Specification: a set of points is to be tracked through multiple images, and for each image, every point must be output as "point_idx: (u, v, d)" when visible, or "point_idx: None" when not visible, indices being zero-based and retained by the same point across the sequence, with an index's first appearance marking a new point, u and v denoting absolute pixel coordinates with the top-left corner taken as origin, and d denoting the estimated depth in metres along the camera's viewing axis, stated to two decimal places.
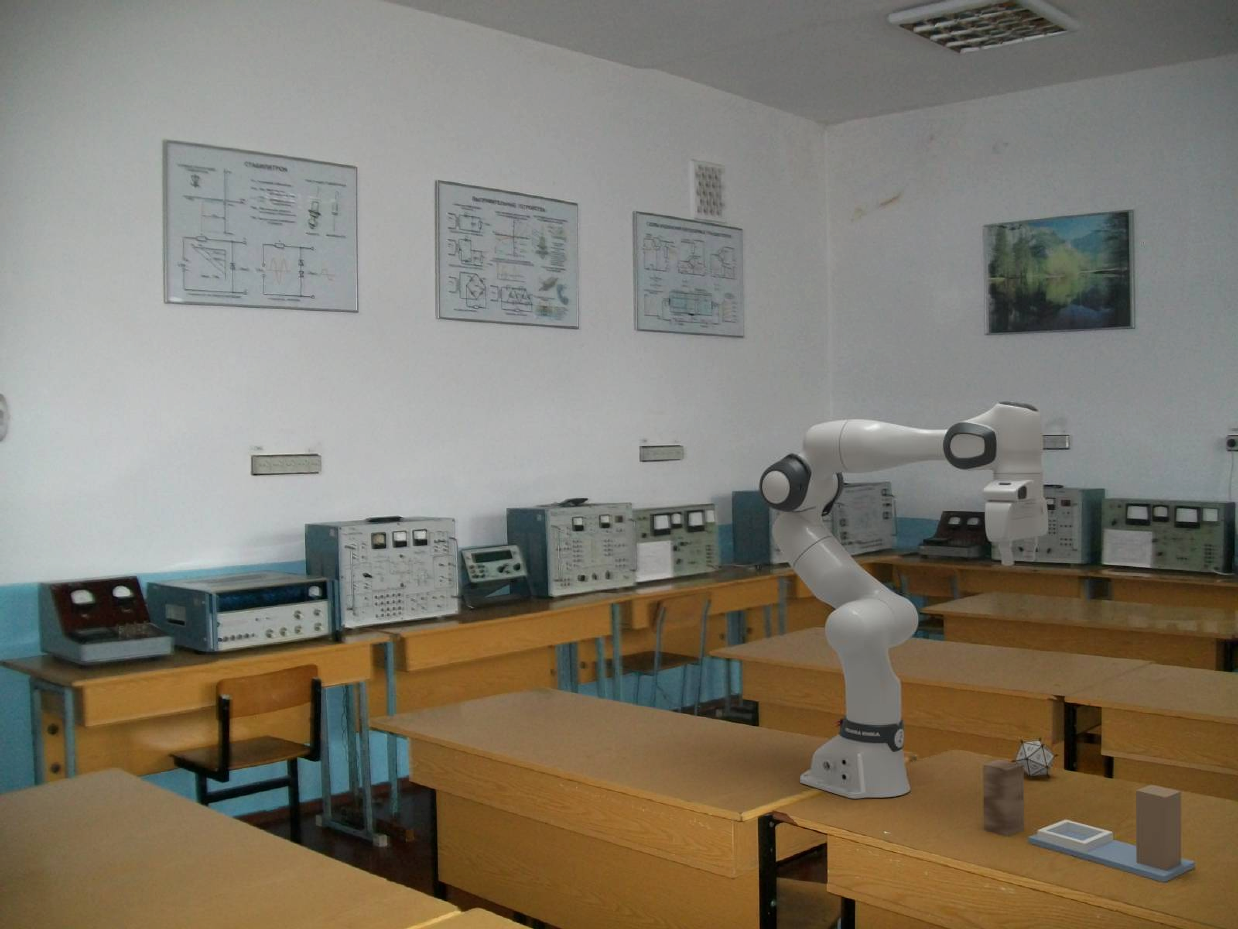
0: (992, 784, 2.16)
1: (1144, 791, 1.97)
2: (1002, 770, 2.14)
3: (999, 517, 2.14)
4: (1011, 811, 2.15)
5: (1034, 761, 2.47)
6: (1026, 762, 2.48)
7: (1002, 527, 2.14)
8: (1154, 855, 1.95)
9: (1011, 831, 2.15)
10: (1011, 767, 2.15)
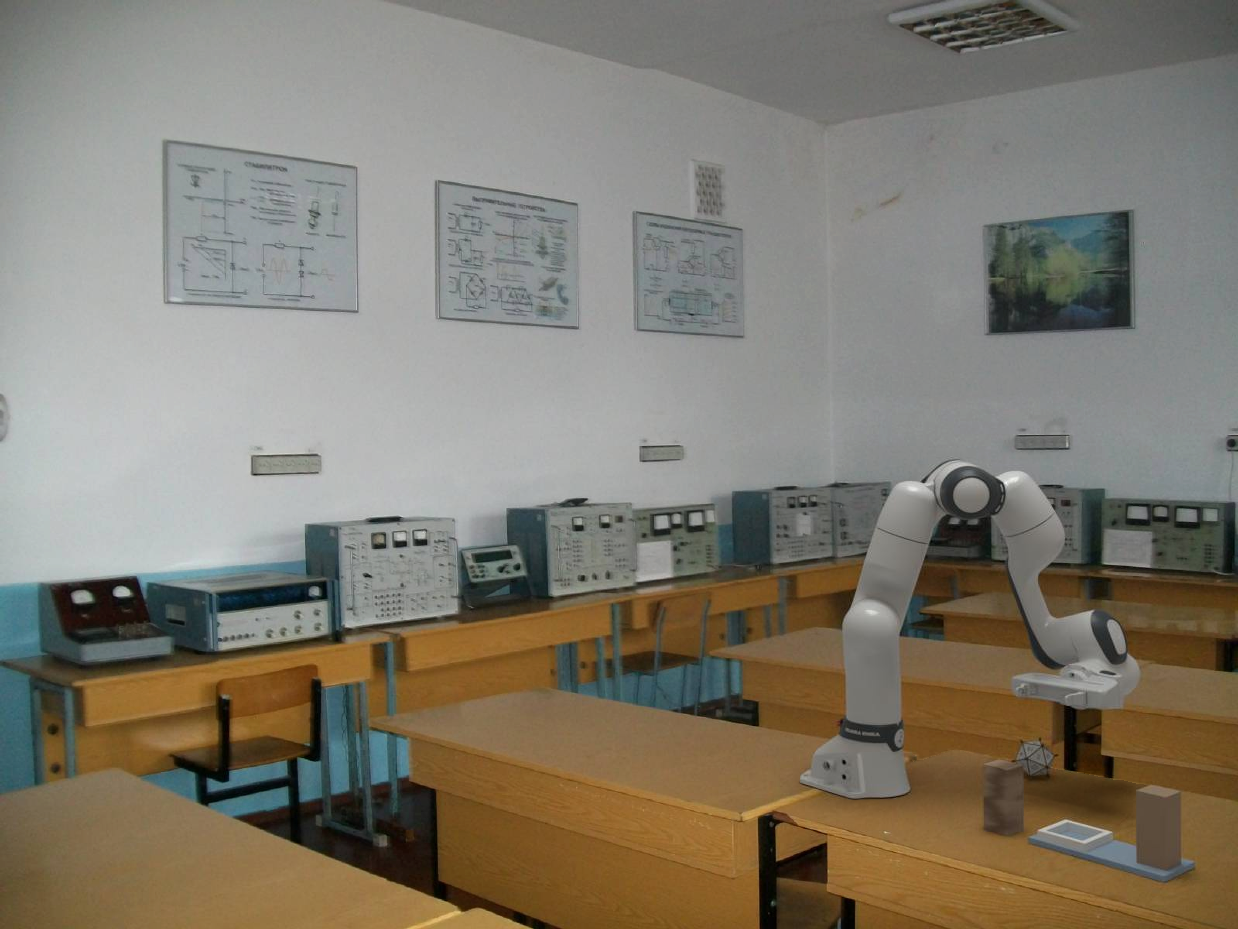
0: (992, 784, 2.16)
1: (1144, 791, 1.97)
2: (1002, 770, 2.14)
3: (1115, 700, 2.22)
4: (1011, 811, 2.15)
5: (1034, 761, 2.47)
6: (1026, 762, 2.48)
7: (1112, 705, 2.21)
8: (1154, 855, 1.95)
9: (1011, 831, 2.15)
10: (1011, 767, 2.15)
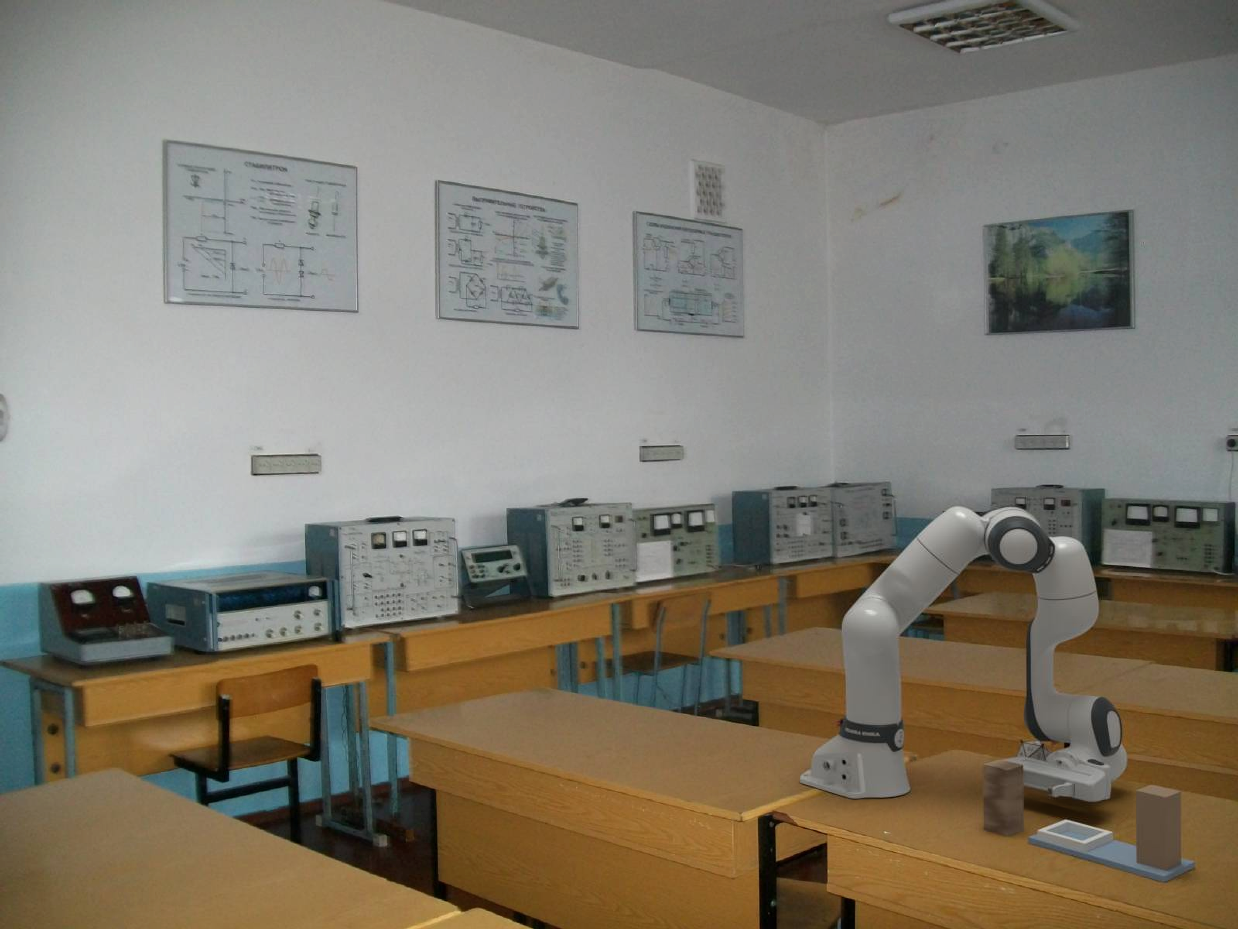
0: (992, 784, 2.16)
1: (1144, 791, 1.97)
2: (1002, 770, 2.14)
3: (1103, 792, 2.20)
4: (1011, 811, 2.15)
5: None
6: None
7: (1099, 797, 2.19)
8: (1154, 855, 1.95)
9: (1011, 831, 2.15)
10: (1011, 767, 2.15)
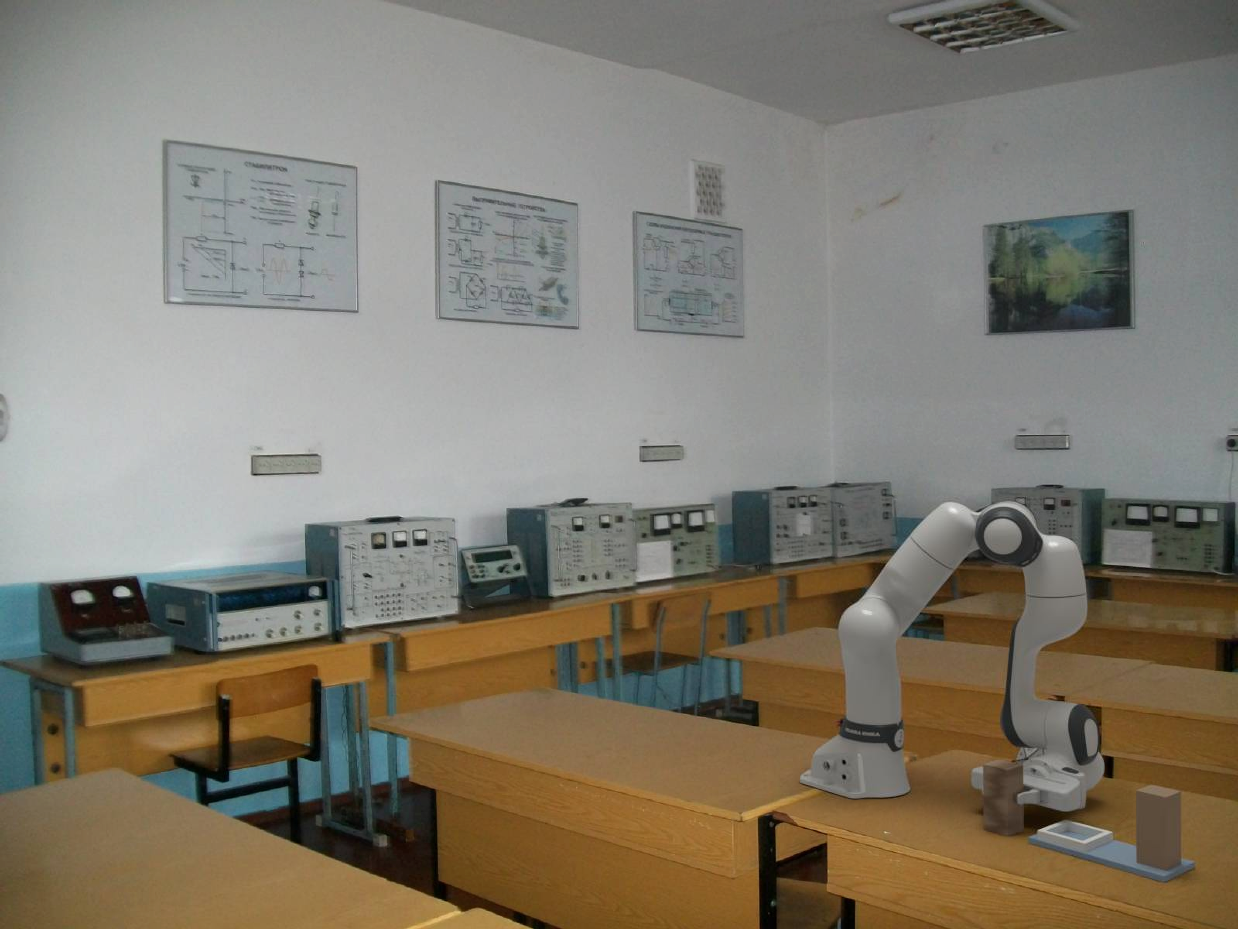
0: (992, 784, 2.16)
1: (1144, 791, 1.97)
2: (1002, 769, 2.14)
3: (1077, 801, 2.15)
4: (1011, 811, 2.15)
5: None
6: None
7: (1073, 806, 2.13)
8: (1154, 855, 1.95)
9: (1011, 831, 2.15)
10: (1011, 767, 2.15)
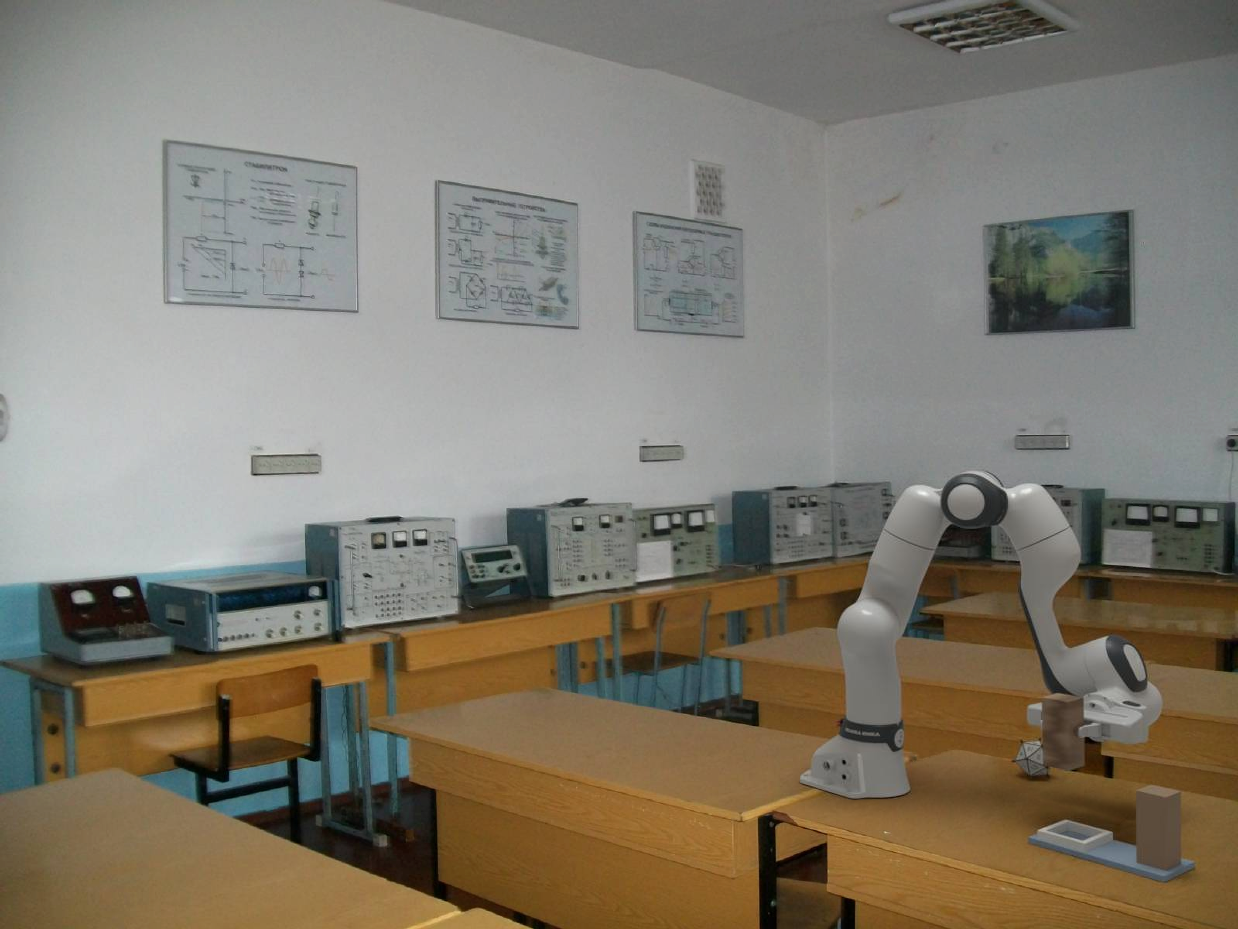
0: (1051, 718, 2.09)
1: (1144, 791, 1.97)
2: (1062, 702, 2.07)
3: (1140, 734, 2.07)
4: (1072, 744, 2.07)
5: (1034, 761, 2.47)
6: (1026, 762, 2.48)
7: (1136, 739, 2.06)
8: (1154, 855, 1.95)
9: (1072, 765, 2.07)
10: (1071, 699, 2.08)
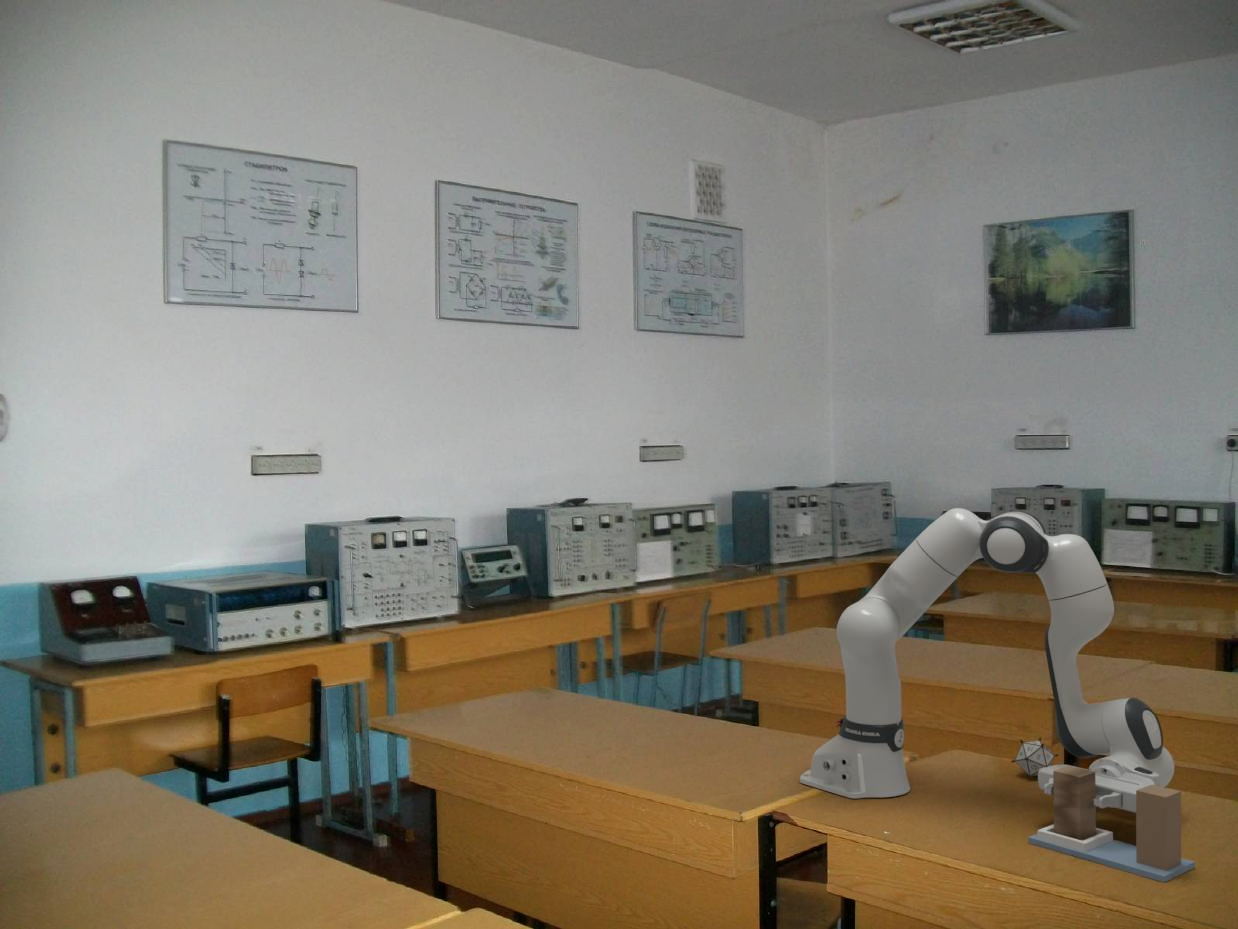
0: (1063, 792, 2.07)
1: (1144, 791, 1.97)
2: (1074, 777, 2.06)
3: None
4: (1084, 820, 2.06)
5: (1034, 761, 2.47)
6: (1026, 762, 2.48)
7: None
8: (1154, 855, 1.95)
9: None
10: (1083, 774, 2.06)
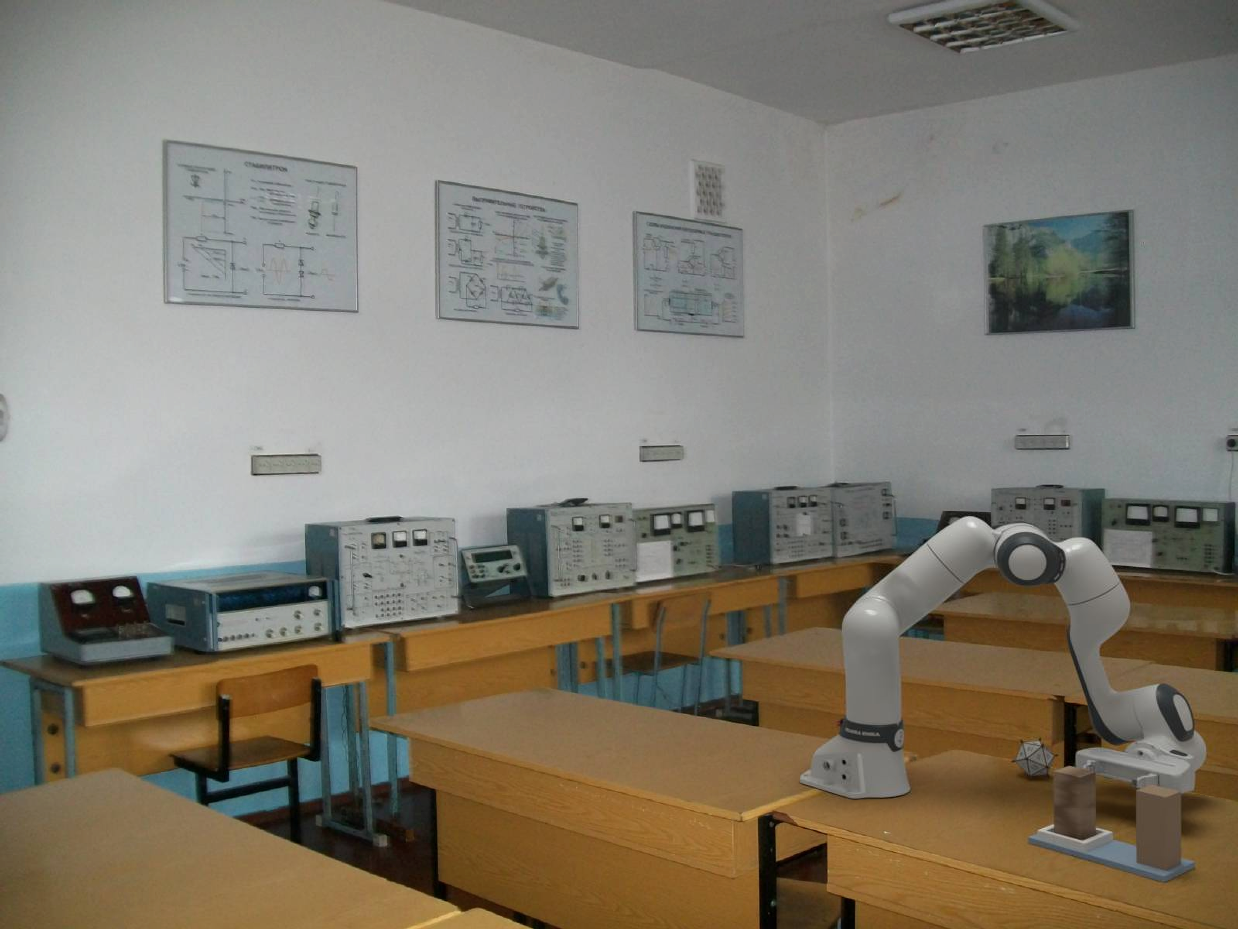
0: (1063, 792, 2.07)
1: (1144, 791, 1.97)
2: (1074, 777, 2.06)
3: (1188, 783, 2.14)
4: (1084, 820, 2.06)
5: (1034, 761, 2.47)
6: (1026, 762, 2.48)
7: (1184, 788, 2.13)
8: (1154, 855, 1.95)
9: None
10: (1083, 774, 2.06)
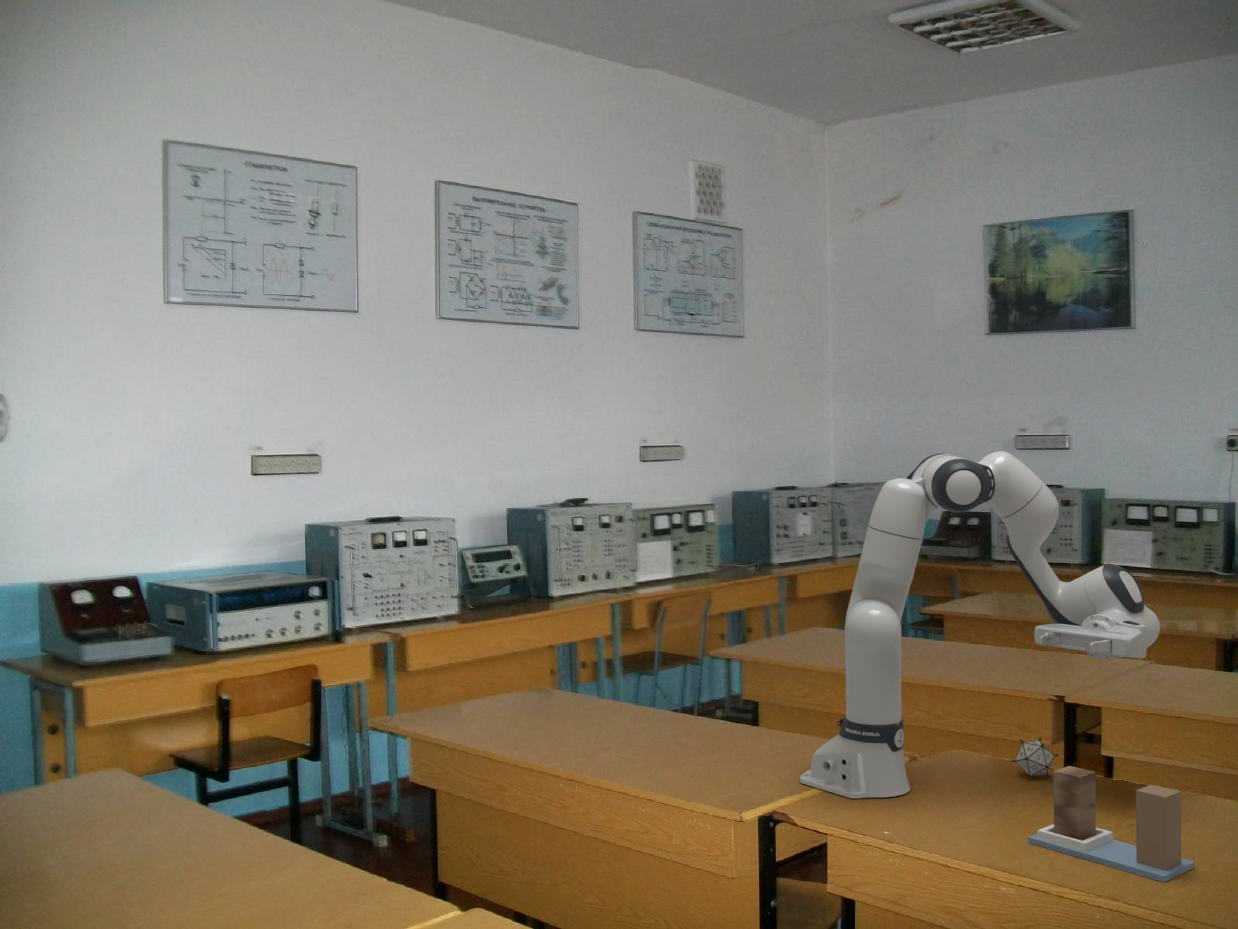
0: (1063, 792, 2.07)
1: (1144, 791, 1.97)
2: (1074, 777, 2.06)
3: (1139, 649, 2.24)
4: (1084, 820, 2.06)
5: (1034, 761, 2.47)
6: (1026, 762, 2.48)
7: (1136, 653, 2.23)
8: (1154, 855, 1.95)
9: None
10: (1083, 774, 2.06)
